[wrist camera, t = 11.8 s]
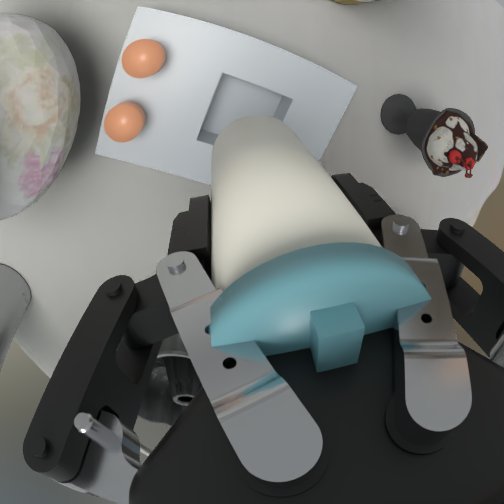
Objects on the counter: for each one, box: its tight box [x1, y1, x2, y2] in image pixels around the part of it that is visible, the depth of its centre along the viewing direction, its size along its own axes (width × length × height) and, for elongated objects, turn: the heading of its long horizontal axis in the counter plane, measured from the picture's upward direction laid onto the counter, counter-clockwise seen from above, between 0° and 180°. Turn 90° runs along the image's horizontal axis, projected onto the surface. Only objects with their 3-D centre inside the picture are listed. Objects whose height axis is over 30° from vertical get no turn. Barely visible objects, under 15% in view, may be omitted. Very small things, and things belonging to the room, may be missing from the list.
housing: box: [95, 6, 358, 185], centre depth 26 cm, size 20×14×5 cm
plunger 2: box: [104, 101, 145, 143], centre depth 23 cm, size 3×3×4 cm
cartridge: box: [207, 115, 432, 373], centre depth 11 cm, size 6×6×14 cm
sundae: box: [381, 94, 488, 178], centre depth 24 cm, size 7×7×15 cm
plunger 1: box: [121, 39, 166, 78], centre depth 20 cm, size 3×3×4 cm
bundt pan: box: [137, 333, 202, 427], centre depth 48 cm, size 26×26×10 cm
